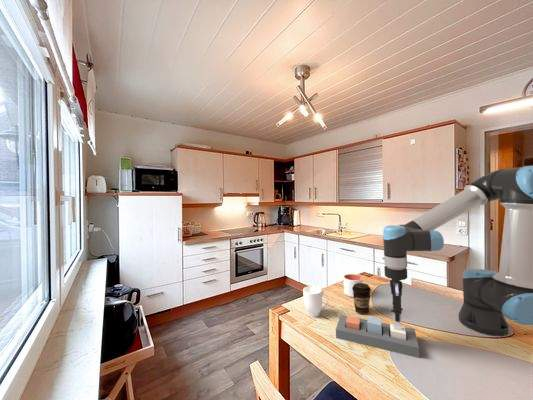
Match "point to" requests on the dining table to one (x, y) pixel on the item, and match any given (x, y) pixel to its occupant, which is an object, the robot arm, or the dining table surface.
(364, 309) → the coffee cup
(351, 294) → the cup
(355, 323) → the key rust
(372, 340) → the key panel
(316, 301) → the mug
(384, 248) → the robot arm
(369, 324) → the key slate
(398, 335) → the key white
